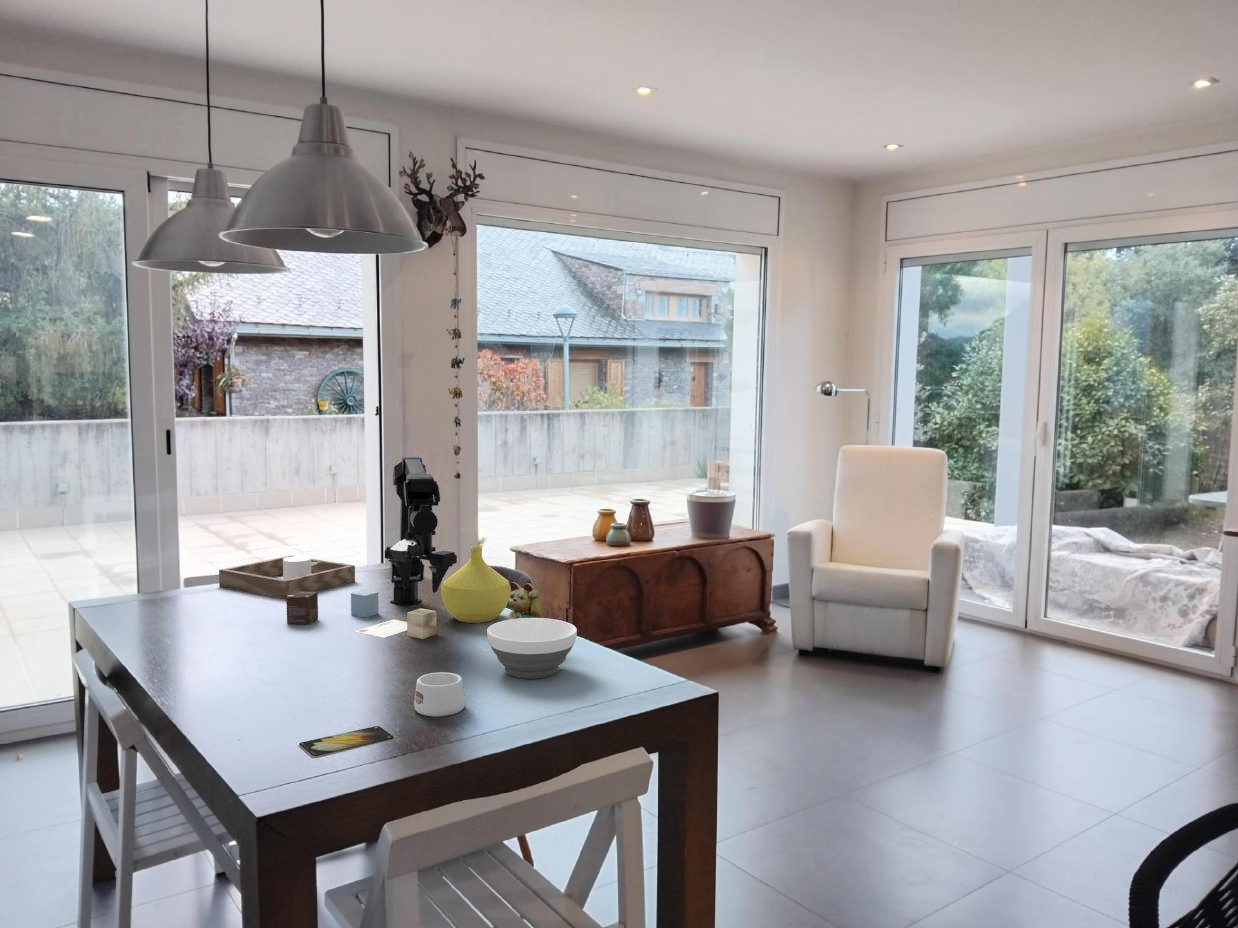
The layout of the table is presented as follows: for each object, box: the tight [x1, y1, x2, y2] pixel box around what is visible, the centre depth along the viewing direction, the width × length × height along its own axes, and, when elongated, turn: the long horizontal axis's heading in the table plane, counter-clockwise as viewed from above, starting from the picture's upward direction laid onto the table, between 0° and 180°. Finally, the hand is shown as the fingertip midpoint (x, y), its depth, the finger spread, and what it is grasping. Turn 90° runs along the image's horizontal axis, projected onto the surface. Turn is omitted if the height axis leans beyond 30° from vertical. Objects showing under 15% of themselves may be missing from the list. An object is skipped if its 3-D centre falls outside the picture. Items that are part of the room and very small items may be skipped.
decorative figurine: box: [506, 581, 543, 620], centre depth 230 cm, size 10×8×15 cm
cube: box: [350, 589, 380, 618], centre depth 254 cm, size 5×5×6 cm
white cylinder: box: [282, 555, 321, 580], centre depth 289 cm, size 20×19×8 cm
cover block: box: [406, 608, 437, 640], centre depth 235 cm, size 5×5×6 cm
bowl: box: [486, 617, 578, 680], centre depth 208 cm, size 20×20×10 cm
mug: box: [413, 671, 466, 718], centre depth 185 cm, size 12×10×6 cm
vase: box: [440, 545, 512, 624], centre depth 251 cm, size 18×18×19 cm
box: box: [285, 591, 319, 626], centre depth 246 cm, size 6×6×7 cm
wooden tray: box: [218, 555, 356, 600], centre depth 288 cm, size 27×28×5 cm
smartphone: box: [298, 725, 395, 759], centre depth 168 cm, size 7×1×15 cm
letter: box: [353, 619, 407, 639], centre depth 241 cm, size 14×10×1 cm
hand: (420, 589), depth 235 cm, fingers open, 9 cm apart
